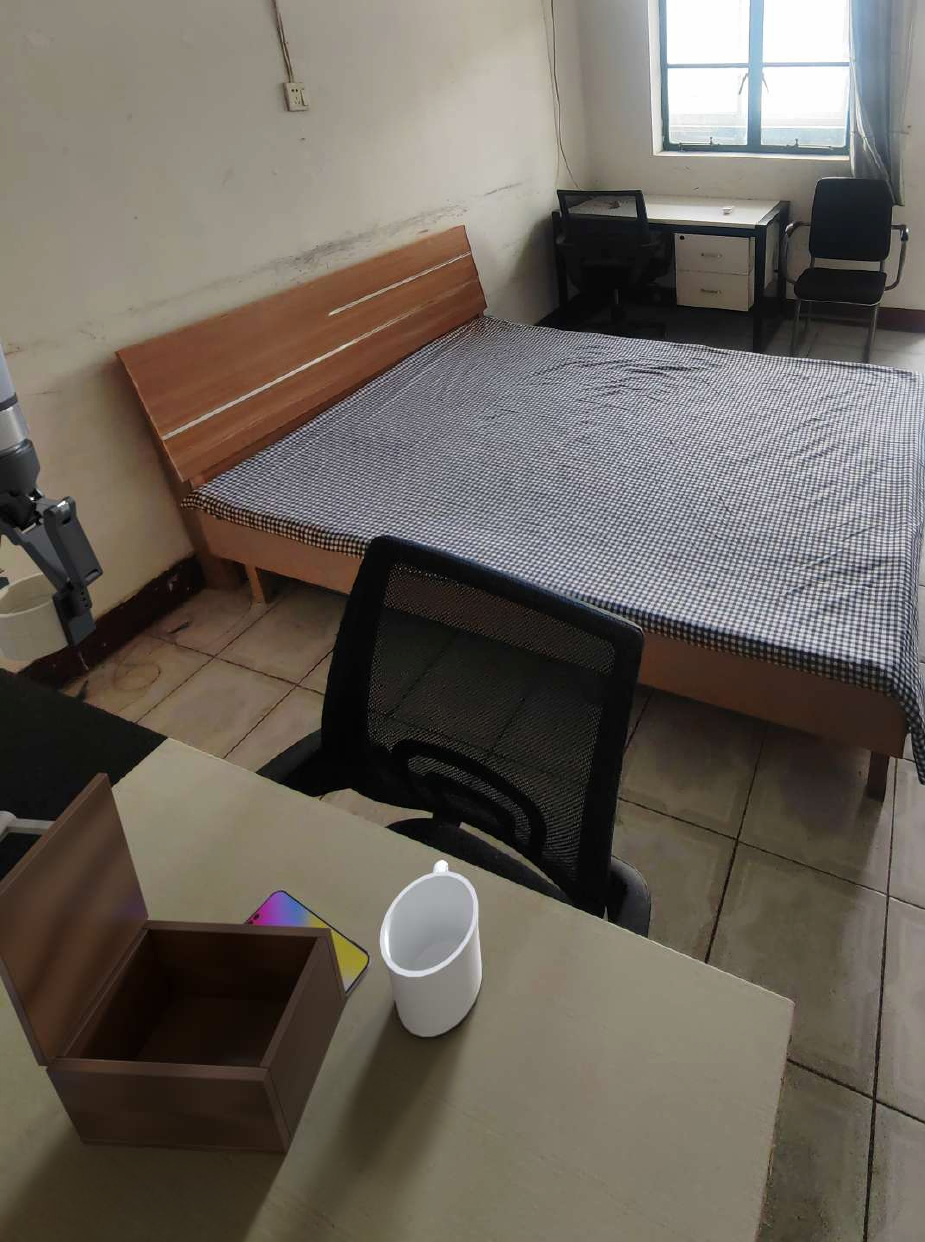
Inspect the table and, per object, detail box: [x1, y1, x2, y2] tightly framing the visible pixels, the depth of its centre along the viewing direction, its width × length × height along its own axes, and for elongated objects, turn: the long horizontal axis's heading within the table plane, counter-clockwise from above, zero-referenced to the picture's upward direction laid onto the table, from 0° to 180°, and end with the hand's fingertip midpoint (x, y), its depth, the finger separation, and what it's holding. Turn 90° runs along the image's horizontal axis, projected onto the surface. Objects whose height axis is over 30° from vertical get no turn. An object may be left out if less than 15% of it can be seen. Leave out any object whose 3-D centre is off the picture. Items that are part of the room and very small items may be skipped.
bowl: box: [0, 571, 69, 662], centre depth 73 cm, size 7×7×6 cm
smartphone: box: [242, 889, 372, 998], centre depth 70 cm, size 7×1×15 cm
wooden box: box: [45, 919, 348, 1156], centre depth 60 cm, size 18×11×11 cm, turn 88°
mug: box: [379, 859, 483, 1040], centre depth 67 cm, size 11×9×10 cm
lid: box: [0, 772, 150, 1068], centre depth 56 cm, size 18×11×8 cm
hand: (46, 635), depth 74 cm, fingers closed on bowl, 7 cm apart
